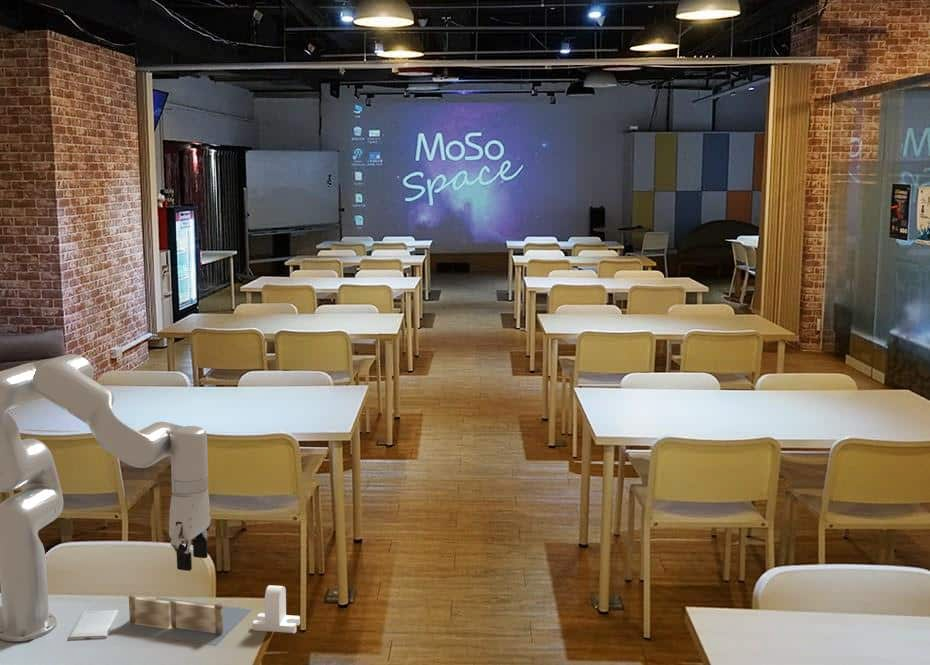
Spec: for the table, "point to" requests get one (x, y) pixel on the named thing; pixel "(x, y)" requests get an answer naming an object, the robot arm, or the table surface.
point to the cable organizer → (276, 613)
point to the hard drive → (94, 624)
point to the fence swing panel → (197, 616)
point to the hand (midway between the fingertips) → (192, 562)
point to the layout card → (229, 622)
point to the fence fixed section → (149, 611)
